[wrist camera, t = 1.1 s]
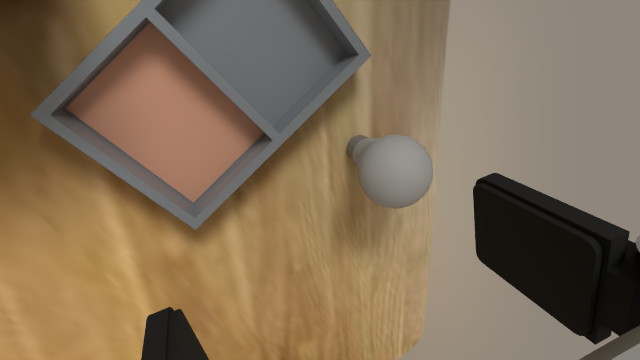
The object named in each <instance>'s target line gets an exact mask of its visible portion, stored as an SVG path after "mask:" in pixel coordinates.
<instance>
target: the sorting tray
mask: <svg viewBox="0 0 640 360" xmlns="http://www.w3.org/2000/svg"><path fill="white" fill-rule="evenodd" d="M370 56H371V54H370V53H369V51H368V50H367V49H366V47H365V46H364V44H363V43H362V42H361V40H360V39H359V37H358V36H357V35H356V33H355V32H354V30H353V29H352V27H351V26H350V25H349V23H348V22H347V20H346V19H345V18H344V16H343V15H342V13H341V12H340V10H339V9H338V8H337V6H336V5H335V3H334V2H333V1H332V0H142V1H141V2H140V3H139V4H138V5H137V6H136V7H135V8H134V9H133V10H132V11H131V12H130V13H129V14H128V15H127V16H126V17H125V18H124V19H123V20H122V21H121V22H120V23H119V24H118V25H117V26H116V27H115V28H114V29H113V30H112V31H111V33H110V34H109V35H108V36H107V37H106V38H105V39H104V40H103V41H102V42H101V43H100V44H99V45H98V46H97V47H96V48H95V49H94V50H93V51H92V52H91V53H90V54H89V55H88V56H87V57H86V58H85V59H84V60H83V61H82V62H81V63H80V64H79V65H78V66H77V67H76V68H75V69H74V70H73V71H72V72H71V73H70V74H69V75H68V76H67V77H66V78H65V79H64V80H63V82H62V83H61V84H60V85H59V86H58V87H57V88H56V89H55V90H54V91H53V92H52V93H51V94H50V95H49V96H48V97H47V98H46V99H45V100H44V101H43V102H42V103H41V104H40V105H39V106H38V107H37V108H36V109H35V110H34V111H33V112H32V113H31V114H30V116H31V117H33V118H34V119H36V120H37V121H39V122H40V123H42V124H43V125H44V126H46V127H47V128H49V129H50V130H52V131H53V132H55V133H56V134H57V135H59V136H60V137H62V138H63V139H65V140H66V141H68V142H69V143H70V144H72V145H73V146H75V147H76V148H78V149H79V150H81V151H82V152H83V153H85V154H86V155H88V156H89V157H91V158H92V159H94V160H95V161H96V162H98V163H99V164H101V165H102V166H104V167H105V168H107V169H108V170H109V171H111V172H112V173H114V174H115V175H117V176H118V177H120V178H121V179H122V180H124V181H125V182H127V183H128V184H130V185H131V186H133V187H134V188H136V189H137V190H138V191H140V192H141V193H143V194H144V195H146V196H147V197H149V198H150V199H151V200H153V201H154V202H156V203H157V204H159V205H160V206H162V207H163V208H164V209H166V210H167V211H169V212H170V213H172V214H173V215H175V216H176V217H177V218H179V219H180V220H182V221H183V222H185V223H186V224H188V225H189V226H190V227H192V228H193V229H195V230H196V229H197V228H198V227H199V226H200V225H201V224H202V223H203V222H204V221H205V220H206V219H207V218H208V217H209V216H210V215H211V214H212V213H213V212H214V211H215V210H216V209H217V208H218V207H219V206H220V205H221V204H222V203H223V202H224V201H225V200H226V199H227V198H228V197H229V196H230V195H231V194H232V193H233V192H234V191H235V190H236V189H237V188H238V187H239V186H240V185H241V184H243V183H244V182H245V181H246V180H247V179H248V178H249V177H250V176H251V175H252V174H253V173H254V172H255V171H256V170H257V169H258V168H259V167H260V166H261V165H262V164H263V163H264V162H265V161H266V160H267V159H268V158H269V157H270V156H271V155H272V154H273V153H274V152H275V151H276V150H277V149H278V148H279V147H280V146H281V145H282V144H283V143H284V142H285V141H286V140H287V139H288V138H289V137H290V136H291V135H292V134H293V133H294V132H295V131H296V130H297V129H298V128H299V127H300V126H301V125H302V124H303V123H304V122H305V121H306V120H307V119H308V118H309V117H310V116H311V115H312V114H313V113H314V112H315V111H316V110H317V109H318V108H319V107H320V106H321V105H322V104H323V103H324V102H325V101H326V100H327V99H328V98H329V97H330V96H331V95H332V94H333V93H334V92H335V91H336V90H337V89H338V88H339V87H340V86H341V85H342V84H343V83H344V82H345V81H346V80H347V79H348V78H349V77H350V76H351V75H352V74H353V73H354V72H355V71H356V70H357V69H358V68H359V67H360V66H361V65H362V64H363V63H364V62H365V61H366V60H367V59H368V58H369V57H370Z"/></svg>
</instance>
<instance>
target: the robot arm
mask: <svg viewBox="0 0 640 360" xmlns="http://www.w3.org/2000/svg"><path fill="white" fill-rule="evenodd" d="M473 198H474V219H475V239H476V254H477V256H478V258H479V260H480V261H481V262H482V263H484V264H485V265H486V266H487V267H489V268H490V269H491V270H493V271H494V272H495V273H496V274H498V275H499V276H500V277H502V278H503V279H504V280H506V281H507V282H508V283H510V284H511V285H512V286H514V287H515V288H516V289H517V290H519V291H520V292H521V293H523V294H524V295H525V296H526V297H528V298H529V299H531V300H532V301H533V302H534V303H536V304H537V305H538V306H540V307H541V308H542V309H544V310H545V311H546V312H547V313H549V314H550V315H551V316H553V317H554V318H555V319H557V320H558V321H559V322H560V323H562V324H563V325H564V326H566V327H567V328H568V329H570V330H571V331H572V332H574V333H575V334H577V335H579V336H585V337H586V338H587V339H589V340H590V341H591V342H592V343H594V344H597V343H599V342H601V341H602V340H604V339H606V338H608V337H609V336H611V331H613V332H614V333H616V334H617V335H619V337H618V338H616V339H614V340H613V341H611V342H609V343H607V344H606V345H604V346H602V347H600V348H598V349H597V350H595V351H593V352H592V353H590V354H588V355H586V356H584V357H583V358H581V359H579V360H640V236H639V237H638V238H637V240H636V242H635V243H634V242H631V241H629V240H628V238H629V231H627V230H625V229H622V228H620V227H618V226H616V225H613V224H611V223H609V222H607V221H604V220H602V219H600V218H598V217H595V216H593V215H591V214H588V213H586V212H584V211H582V210H579V209H577V208H575V207H573V206H570V205H568V204H566V203H563V202H561V201H559V200H557V199H554V198H552V197H550V196H548V195H545V194H543V193H541V192H539V191H536V190H534V189H532V188H530V187H527V186H525V185H523V184H521V183H518V182H516V181H514V180H511V179H509V178H507V177H505V176H502V175H500V174H498V173H492V174H490V175H488V176H485V177H483V178H480V179H478V180H477V182H476V185H475V186H474V188H473ZM141 360H209V359H208V357H207V355H206V353H205V351H204V350H203V348H202V346H201V344H200V342H199V341H198V339H197V337H196V335H195V333H194V332H193V330H192V328H191V326H190V324H189V323H188V321H187V319H186V317H185V315H184V313H183V312H182V310H181V309H178V310H175V311H174V310H173V309H172V308H171V307H168V308H166V309H163V310H161V311H159V312H156V313H154V314H151V315H149V316H148V317H147V321H146V329H145V336H144V343H143V351H142V358H141Z"/></svg>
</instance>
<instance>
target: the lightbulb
mask: <svg viewBox="0 0 640 360" xmlns="http://www.w3.org/2000/svg"><path fill="white" fill-rule="evenodd" d="M347 152H348V154H349V156H350V157H351V158H352V159H353V160H354V163H355V164H356V165H357V167H358V179H359V183H360V185H361V187H362V189H363V191H364V193H365V194H366V195H367V197H368V198H369V199H371V200H372V201H373V202H375V203H376V204H378V205H381V206H383V207H387V208H394V209H396V208H403V207H407V206H410V205H412V204H414V203H415V202H417V201H418V200H420V199H421V198H422V197H423V196H424V195H425V194H426V192H427V191H428V189H429V187H430V184H431V182H432V177H433V166H432V161H431V158H430V156H429V154H428V152H427V151H426V149H425V148H424V147H423V146H422V145H421V144H420V143H419V142H418V141H416V140H414V139H412V138H410V137H408V136H404V135H388V136H384V137H382V138H379V139H375V138H368V137H365V136H362V135H358V136H355V137H353V138H352V139H351V140H350V141H349V143H348V146H347Z"/></svg>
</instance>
